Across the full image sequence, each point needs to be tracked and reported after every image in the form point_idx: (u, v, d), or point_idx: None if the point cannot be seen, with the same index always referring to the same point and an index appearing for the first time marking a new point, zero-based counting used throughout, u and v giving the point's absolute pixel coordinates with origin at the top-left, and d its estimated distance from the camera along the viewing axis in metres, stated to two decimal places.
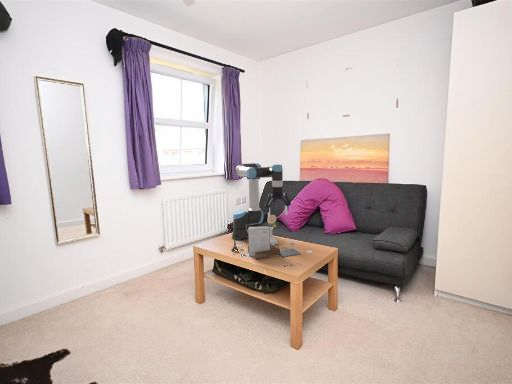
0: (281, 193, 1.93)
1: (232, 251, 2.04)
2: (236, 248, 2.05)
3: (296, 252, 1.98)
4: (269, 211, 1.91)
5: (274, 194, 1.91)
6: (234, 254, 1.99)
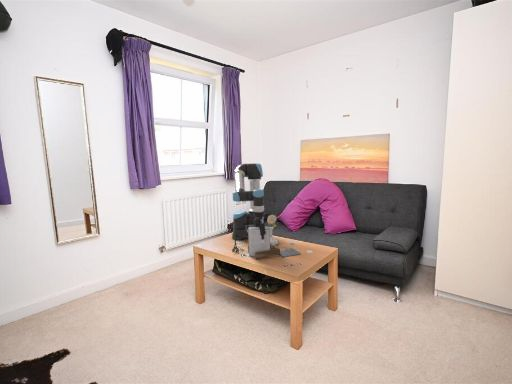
0: (259, 219, 1.91)
1: (232, 251, 2.04)
2: (236, 248, 2.05)
3: (296, 252, 1.98)
4: None
5: (256, 218, 1.96)
6: None
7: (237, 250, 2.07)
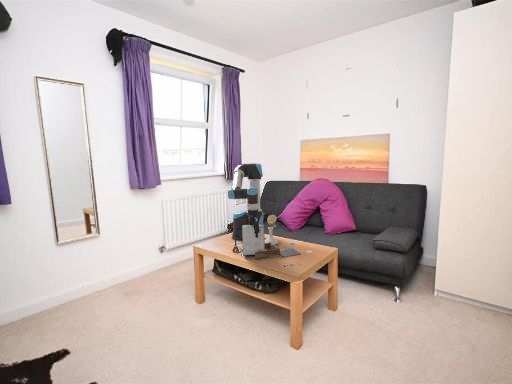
0: (253, 217, 1.89)
1: (233, 251, 2.03)
2: (237, 248, 2.05)
3: (296, 252, 1.98)
4: None
5: (250, 216, 1.94)
6: None
7: (237, 250, 2.07)
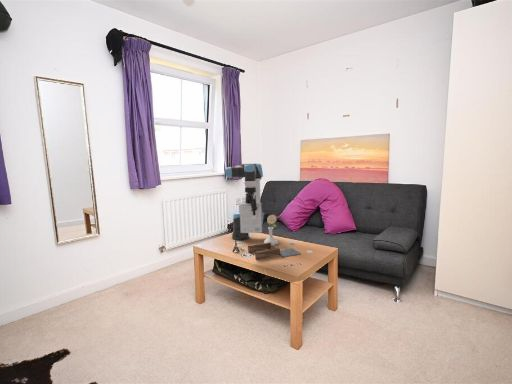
0: (250, 194, 1.86)
1: (233, 251, 2.03)
2: (237, 248, 2.04)
3: (296, 252, 1.98)
4: None
5: (247, 194, 1.92)
6: None
7: (238, 250, 2.06)
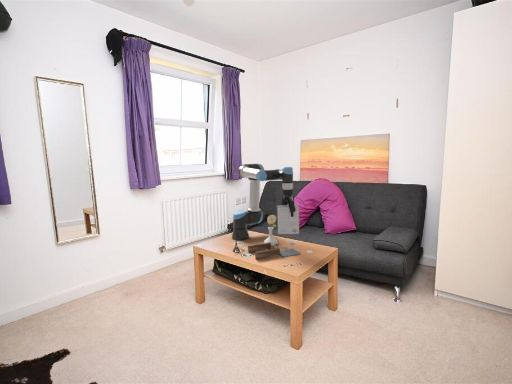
0: (288, 196, 1.90)
1: (233, 251, 2.03)
2: (237, 248, 2.04)
3: (296, 252, 1.98)
4: None
5: (284, 196, 1.96)
6: None
7: (238, 250, 2.06)
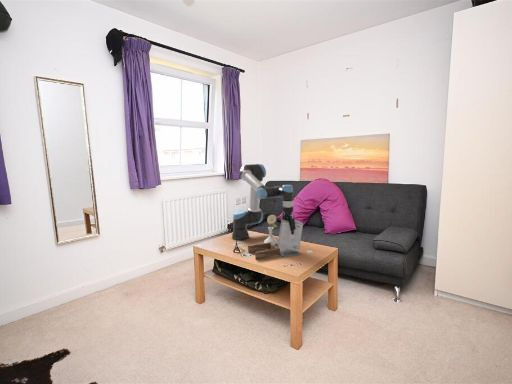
0: (288, 214, 1.92)
1: (233, 252, 2.03)
2: (238, 249, 2.04)
3: (296, 252, 1.98)
4: None
5: (284, 213, 1.97)
6: None
7: (238, 250, 2.06)
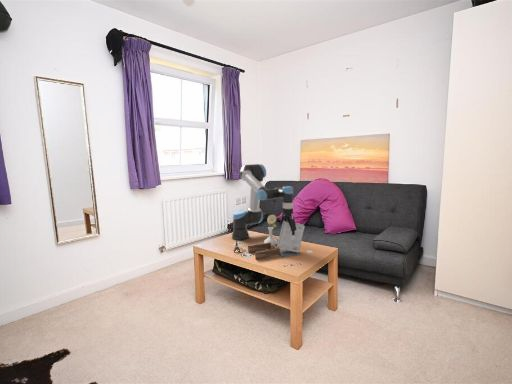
0: (288, 215, 1.92)
1: (234, 252, 2.03)
2: (238, 249, 2.04)
3: (296, 252, 1.98)
4: None
5: (284, 214, 1.97)
6: None
7: (238, 251, 2.06)
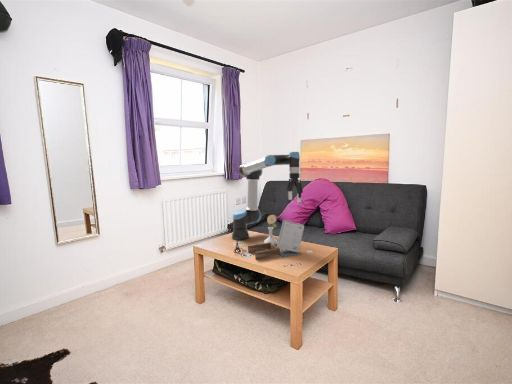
0: (294, 179, 2.00)
1: (234, 252, 2.02)
2: (238, 249, 2.03)
3: (296, 252, 1.98)
4: None
5: (291, 179, 2.05)
6: None
7: (239, 251, 2.05)
